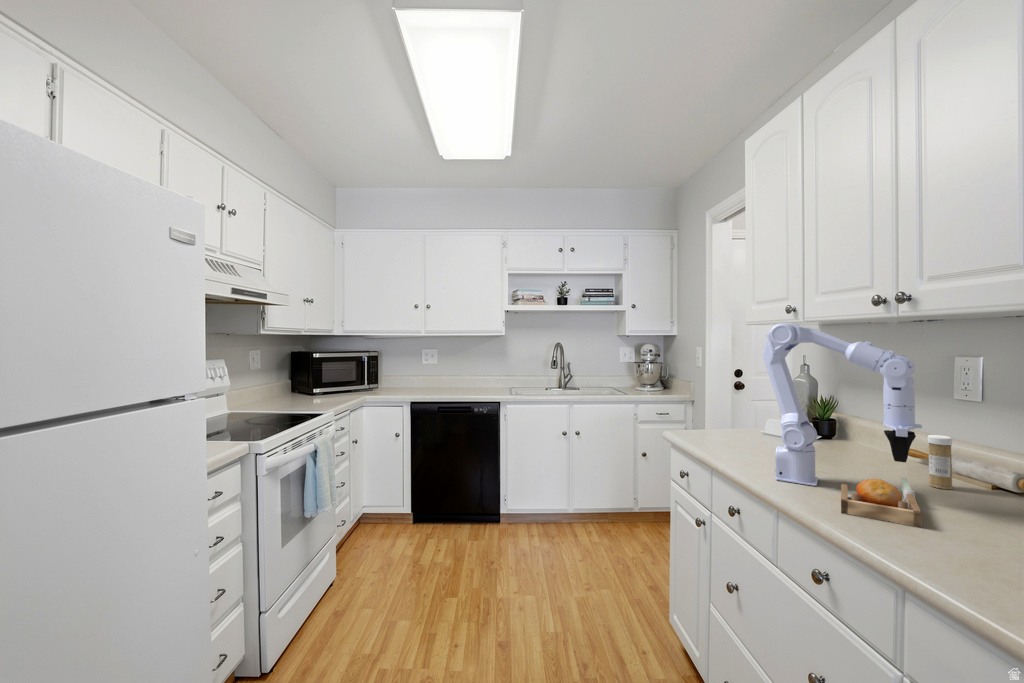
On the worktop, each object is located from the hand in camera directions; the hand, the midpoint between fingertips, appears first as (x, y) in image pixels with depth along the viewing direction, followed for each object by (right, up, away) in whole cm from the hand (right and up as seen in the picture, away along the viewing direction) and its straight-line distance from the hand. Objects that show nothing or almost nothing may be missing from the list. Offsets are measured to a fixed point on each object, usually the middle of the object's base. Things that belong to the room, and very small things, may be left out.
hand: (900, 461), depth 106 cm
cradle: (-10, -10, -6) cm, 15 cm away
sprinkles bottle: (+19, -10, +9) cm, 23 cm away
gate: (+3, -9, +1) cm, 10 cm away
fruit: (-10, -10, -6) cm, 16 cm away
